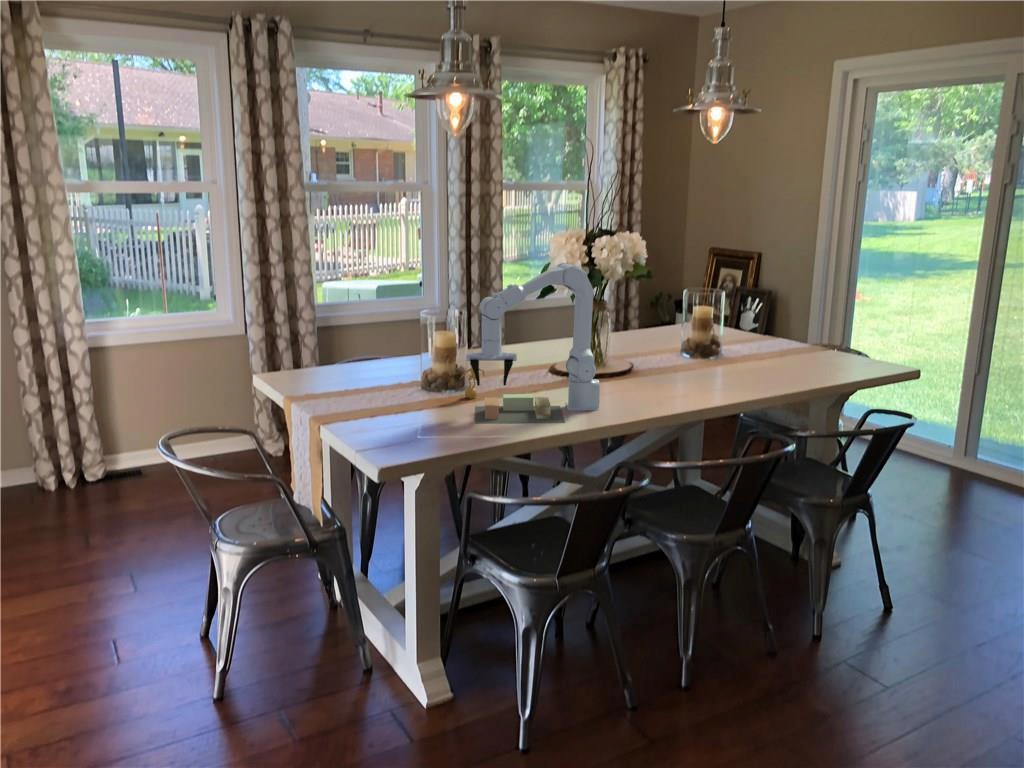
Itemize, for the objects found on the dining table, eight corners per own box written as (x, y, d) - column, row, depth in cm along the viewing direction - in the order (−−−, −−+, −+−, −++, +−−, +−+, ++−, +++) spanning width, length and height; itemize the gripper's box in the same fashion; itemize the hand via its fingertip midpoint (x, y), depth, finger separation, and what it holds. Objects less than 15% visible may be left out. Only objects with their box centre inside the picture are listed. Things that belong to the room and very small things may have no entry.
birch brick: (548, 409, 251) (548, 397, 250) (550, 418, 242) (550, 405, 241) (534, 409, 251) (534, 397, 250) (536, 418, 242) (536, 405, 241)
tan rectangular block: (498, 410, 251) (498, 397, 250) (498, 418, 242) (498, 405, 241) (485, 410, 250) (484, 397, 249) (485, 419, 242) (484, 405, 241)
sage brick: (532, 406, 254) (532, 394, 253) (533, 410, 250) (533, 397, 249) (503, 407, 254) (503, 394, 253) (503, 410, 250) (503, 397, 249)
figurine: (480, 396, 268) (480, 359, 265) (488, 400, 263) (488, 363, 260) (456, 399, 264) (456, 362, 261) (464, 403, 259) (463, 366, 256)
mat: (560, 406, 256) (560, 405, 256) (565, 424, 238) (565, 422, 238) (475, 407, 255) (475, 406, 255) (474, 424, 237) (474, 423, 237)
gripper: (465, 341, 237) (466, 388, 240) (517, 341, 237) (516, 388, 240) (466, 337, 243) (467, 382, 247) (516, 337, 244) (516, 382, 247)
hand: (491, 384), depth 244 cm, fingers open, 7 cm apart
